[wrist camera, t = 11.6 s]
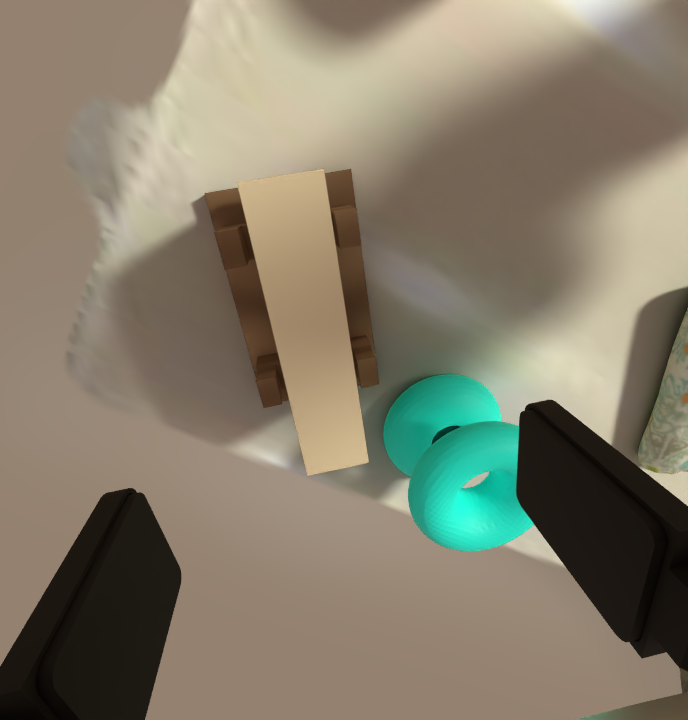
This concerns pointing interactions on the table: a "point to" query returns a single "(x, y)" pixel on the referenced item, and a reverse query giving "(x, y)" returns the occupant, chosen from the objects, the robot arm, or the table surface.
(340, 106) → the table surface
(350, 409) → the cream rectangular block
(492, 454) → the donuts
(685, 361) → the towel
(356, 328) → the rack
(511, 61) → the table surface
